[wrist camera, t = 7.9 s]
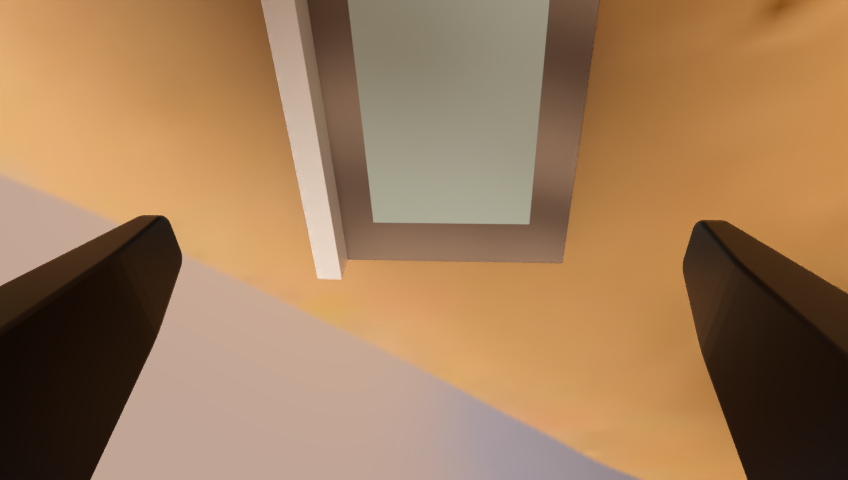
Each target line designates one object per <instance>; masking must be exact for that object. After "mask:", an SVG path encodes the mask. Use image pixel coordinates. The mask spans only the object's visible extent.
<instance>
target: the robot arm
mask: <svg viewBox="0 0 848 480" xmlns="http://www.w3.org/2000/svg"><path fill="white" fill-rule="evenodd" d="M181 264H182V253H181V250H180V247H179V245H178V242H177V240H176V237H175V234H174V232H173V229H172V227H171V224H170V222H169V220H168V219H167V218H166V217H164V216H161V215H142V216H139V217H137V218H135V219H133V220H131V221H129V222H127V223H125V224H123V225H121V226H119V227H117V228H115V229H113V230H111V231H109V232H107V233H105V234H103V235H101V236H99V237H97V238H95V239H93V240H91V241H89V242H87V243H85V244H83V245H81V246H79V247H77V248H75V249H73V250H71V251H69V252H67V253H65V254H63V255H61V256H59V257H57V258H55V259H53V260H51V261H49V262H47V263H45V264H43V265H41V266H39V267H37V268H35V269H33V270H31V271H29V272H27V273H25V274H23V275H21V276H19V277H17V278H15V279H13V280H11V281H9V282H7V283H5V284H3V285H2V286H0V480H90V479H91V477H92V475H93V473H94V471H95V469H96V466H97V464H98V462H99V460H100V458H101V456H102V454H103V452H104V449H105V447H106V445H107V443H108V441H109V439H110V437H111V434H112V432H113V430H114V428H115V426H116V424H117V422H118V420H119V418H120V415H121V413H122V411H123V409H124V406H125V404H126V403H127V400H128V398H129V396H130V394H131V392H132V390H133V388H134V385H135V383H136V381H137V379H138V377H139V375H140V373H141V370H142V368H143V366H144V364H145V362H146V360H147V358H148V356H149V354H150V351H151V349H152V347H153V345H154V342H155V340H156V338H157V335H158V333H159V330H160V327H161V325H162V322H163V319H164V316H165V312H166V309H167V307H168V304H169V300H170V298H171V295H172V292H173V289H174V286H175V283H176V280H177V277H178V274H179V271H180V268H181ZM683 274H684V279H685V283H686V288H687V292H688V297H689V301H690V305H691V310H692V314H693V319H694V323H695V328H696V332H697V336H698V341H699V344H700V348H701V352H702V355H703V358H704V361H705V364H706V367H707V370H708V372H709V375H710V378H711V381H712V383H713V386H714V389H715V392H716V394H717V397H718V400H719V403H720V405H721V408H722V411H723V414H724V416H725V419H726V422H727V425H728V427H729V430H730V433H731V436H732V438H733V441H734V444H735V447H736V449H737V452H738V455H739V457H740V460H741V463H742V466H743V468H744V471H745V474H746V477H747V479H748V480H848V294H847V293H846V292H844V291H842V290H841V289H839V288H837V287H836V286H834V285H832V284H831V283H829V282H827V281H826V280H824V279H822V278H821V277H819V276H817V275H815V274H814V273H812V272H810V271H809V270H807V269H805V268H804V267H802V266H800V265H799V264H797V263H795V262H794V261H792V260H790V259H789V258H787V257H785V256H784V255H782V254H780V253H779V252H777V251H775V250H774V249H772V248H770V247H769V246H767V245H765V244H764V243H762V242H760V241H758V240H757V239H755V238H753V237H752V236H750V235H748V234H747V233H745V232H743V231H742V230H740V229H738V228H737V227H735V226H733V225H732V224H730V223H728V222H726V221H723V220H700V221H699V222H697V223H696V224H695V226H694V228H693V231H692V234H691V237H690V241H689V244H688V247H687V250H686V254H685V257H684V260H683Z"/></svg>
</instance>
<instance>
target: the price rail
mask: <svg viewBox="0 0 848 480" xmlns="http://www.w3.org/2000/svg"><path fill="white" fill-rule="evenodd" d="M261 3H262V8H263V13H264V18H265V23H266V28H267V33H268V38H269V43H270V48H271V52H272V57H273V62H274V67H275V72H276V77H277V82H278V87H279V92H280V97H281V101H282V106H283V111H284V116H285V121H286V126H287V131H288V136H289V141H290V146H291V150H292V155H293V160H294V165H295V170H296V175H297V180H298V185H299V190H300V195H301V199H302V204H303V209H304V214H305V219H306V224H307V229H308V234H309V239H310V244H311V248H312V253H313V258H314V263H315V268H316V273H317V278H318V279H342V277H343V274H344V270H345V267H346V263H347V260H348V258H347V252H346V246H345V239H344V233H343V227H342V220H341V214H340V207H339V201H338V195H337V188H336V182H335V176H334V169H333V163H332V156H331V150H330V144H329V137H328V131H327V125H326V118H325V112H324V105H323V99H322V93H321V86H320V80H319V74H318V67H317V61H316V55H315V48H314V42H313V35H312V29H311V23H310V16H309V10H308V4H307V0H261Z"/></svg>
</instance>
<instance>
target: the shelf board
mask: <svg viewBox="0 0 848 480" xmlns="http://www.w3.org/2000/svg"><path fill="white" fill-rule="evenodd" d="M599 1H600V0H549V12H548V23H547V34H546V45H545V56H544V67H543V78H542V89H541V100H540V111H539V122H538V133H537V145H536V156H535V167H534V178H533V189H532V200H531V211H530V222H529V224H454V223H373V214H372V206H371V197H370V188H369V180H368V171H367V163H366V154H365V145H364V137H363V128H362V120H361V111H360V102H359V94H358V85H357V76H356V68H355V59H354V51H353V42H352V33H351V25H350V16H349V7H348V0H307V4H308V10H309V16H310V23H311V29H312V35H313V42H314V48H315V55H316V61H317V67H318V74H319V80H320V86H321V93H322V99H323V105H324V112H325V118H326V125H327V131H328V137H329V144H330V150H331V156H332V163H333V169H334V176H335V182H336V188H337V195H338V201H339V207H340V214H341V220H342V227H343V233H344V239H345V246H346V252H347V258H348V259H354V260H410V261H466V262H522V263H562V262H563V255H564V248H565V241H566V234H567V227H568V220H569V213H570V206H571V199H572V191H573V184H574V177H575V170H576V163H577V156H578V149H579V142H580V135H581V128H582V121H583V114H584V107H585V100H586V93H587V86H588V79H589V72H590V65H591V58H592V51H593V44H594V37H595V29H596V22H597V15H598V8H599Z"/></svg>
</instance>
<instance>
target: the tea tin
mask: <svg viewBox="0 0 848 480" xmlns="http://www.w3.org/2000/svg"><path fill="white" fill-rule="evenodd" d="M348 7H349V16H350V25H351V33H352V42H353V51H354V59H355V68H356V76H357V85H358V94H359V102H360V111H361V120H362V128H363V137H364V145H365V154H366V163H367V171H368V180H369V188H370V197H371V206H372V214H373V223H454V224H529V222H530V211H531V200H532V189H533V178H534V167H535V156H536V145H537V133H538V122H539V111H540V100H541V89H542V78H543V67H544V56H545V45H546V34H547V23H548V12H549V0H348Z"/></svg>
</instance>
